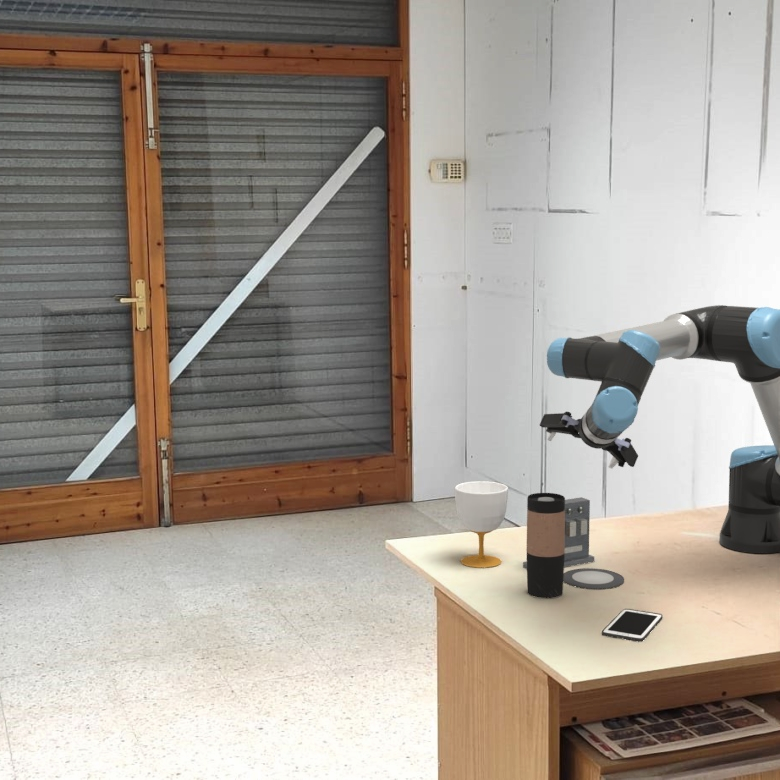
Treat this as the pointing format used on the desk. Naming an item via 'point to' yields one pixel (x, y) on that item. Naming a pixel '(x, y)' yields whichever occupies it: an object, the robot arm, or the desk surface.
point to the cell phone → (632, 624)
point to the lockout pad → (593, 578)
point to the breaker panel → (576, 532)
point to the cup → (481, 514)
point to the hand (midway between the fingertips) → (581, 448)
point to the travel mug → (545, 544)
